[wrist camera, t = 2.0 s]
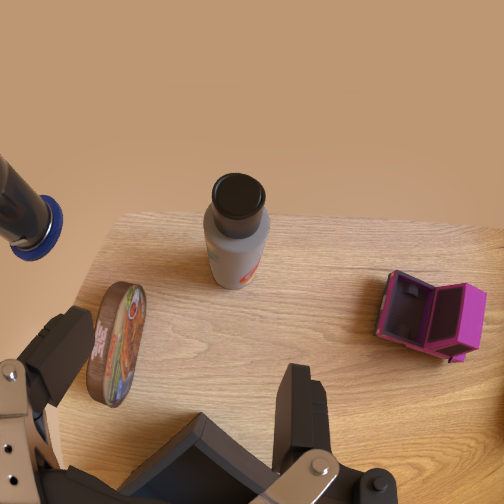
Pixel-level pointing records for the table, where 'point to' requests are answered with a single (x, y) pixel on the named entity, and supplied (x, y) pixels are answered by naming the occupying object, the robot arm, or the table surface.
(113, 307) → the tin
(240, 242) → the lotion bottle
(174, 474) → the bin
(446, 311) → the toy truck
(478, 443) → the table surface
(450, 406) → the table surface
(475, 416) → the table surface
